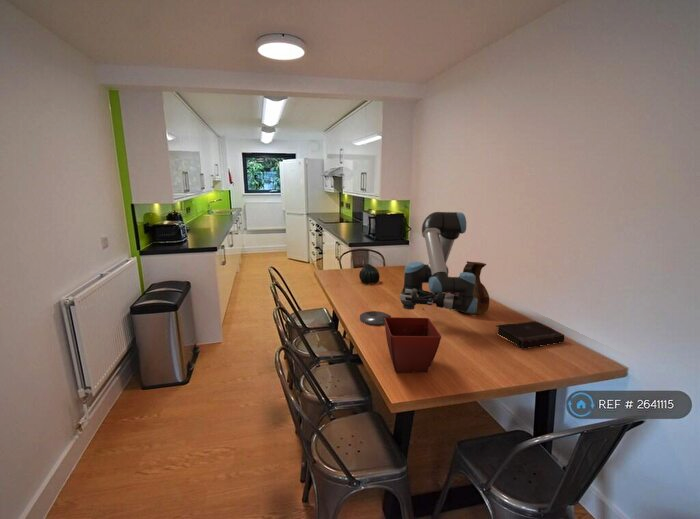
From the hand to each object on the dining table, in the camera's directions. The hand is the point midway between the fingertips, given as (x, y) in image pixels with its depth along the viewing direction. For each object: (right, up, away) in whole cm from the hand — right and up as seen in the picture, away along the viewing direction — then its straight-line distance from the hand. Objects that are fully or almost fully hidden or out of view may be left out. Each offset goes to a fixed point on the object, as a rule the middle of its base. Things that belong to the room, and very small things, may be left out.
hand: (402, 294), depth 183 cm
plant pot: (-4, -25, -44) cm, 50 cm away
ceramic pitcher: (+42, -12, +17) cm, 47 cm away
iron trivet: (-14, -14, +3) cm, 20 cm away
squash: (-14, +1, +72) cm, 73 cm away
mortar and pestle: (+4, -8, -1) cm, 8 cm away
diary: (+59, -20, -16) cm, 64 cm away
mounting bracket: (+37, -5, +51) cm, 64 cm away
